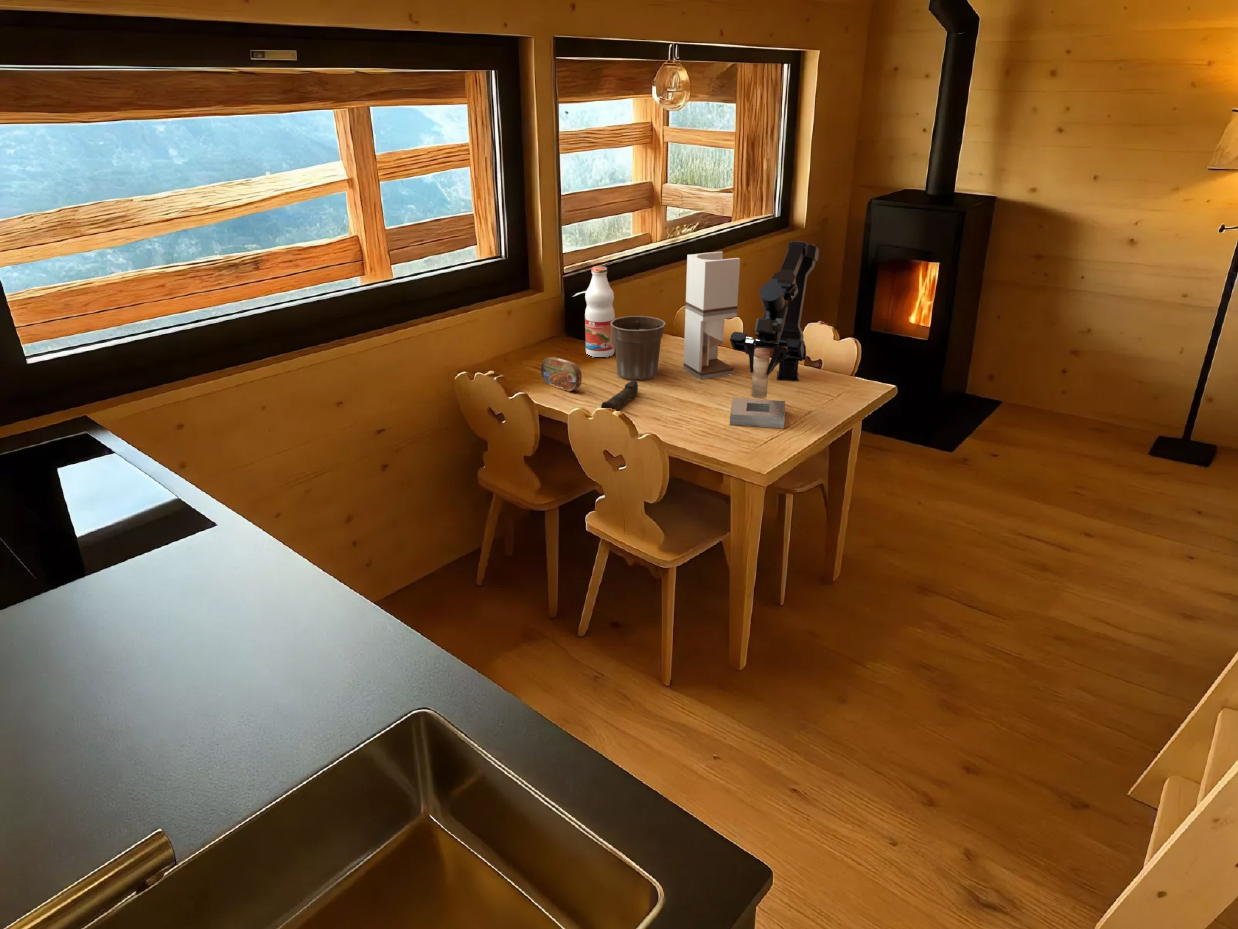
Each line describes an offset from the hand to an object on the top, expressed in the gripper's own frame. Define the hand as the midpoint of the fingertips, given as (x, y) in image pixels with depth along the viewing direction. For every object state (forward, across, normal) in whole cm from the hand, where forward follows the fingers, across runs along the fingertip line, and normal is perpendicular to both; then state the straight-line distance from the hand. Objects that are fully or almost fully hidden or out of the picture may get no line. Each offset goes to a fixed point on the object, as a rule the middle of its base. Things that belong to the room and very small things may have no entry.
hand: (759, 373), depth 219 cm
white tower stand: (-13, -24, +32) cm, 42 cm away
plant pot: (-6, -43, +24) cm, 49 cm away
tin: (+8, -59, +11) cm, 60 cm away
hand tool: (+12, -38, +7) cm, 40 cm away
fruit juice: (-15, -61, +34) cm, 71 cm away
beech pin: (+4, 0, +6) cm, 7 cm away
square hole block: (+8, 0, +10) cm, 13 cm away
